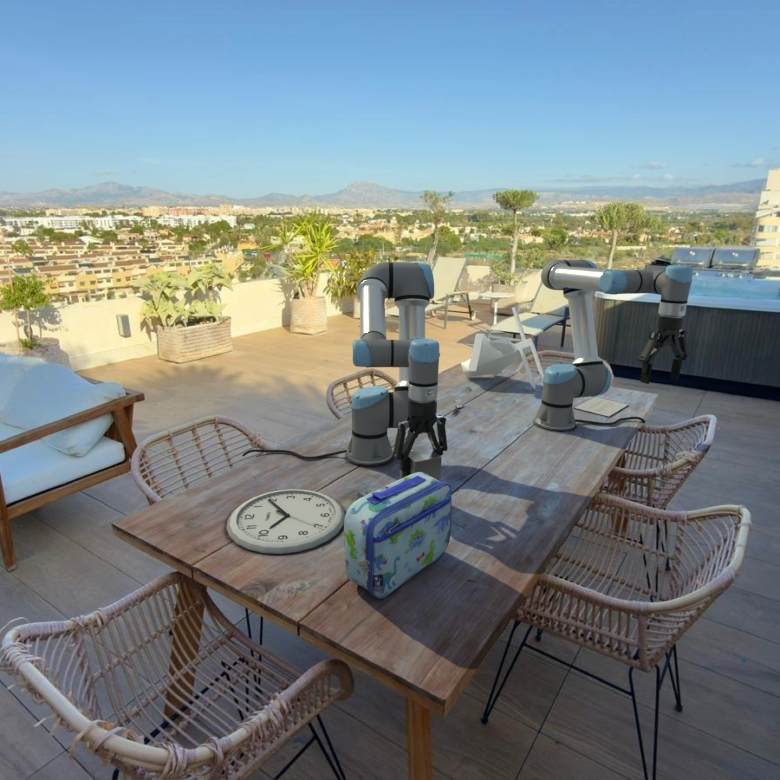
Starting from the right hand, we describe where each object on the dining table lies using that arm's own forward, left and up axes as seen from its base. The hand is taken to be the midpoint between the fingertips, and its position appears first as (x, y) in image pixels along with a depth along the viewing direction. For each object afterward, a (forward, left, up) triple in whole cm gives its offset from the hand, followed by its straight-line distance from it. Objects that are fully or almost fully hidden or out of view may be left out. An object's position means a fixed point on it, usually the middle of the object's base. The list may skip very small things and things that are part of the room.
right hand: (659, 380), depth 171 cm
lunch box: (+77, +75, -26) cm, 111 cm away
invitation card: (+2, -50, -26) cm, 57 cm away
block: (+75, +44, -21) cm, 90 cm away
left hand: (+75, +44, -19) cm, 89 cm away
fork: (+64, -35, -26) cm, 78 cm away
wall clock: (+108, +58, -26) cm, 126 cm away
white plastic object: (+43, -78, -26) cm, 93 cm away
